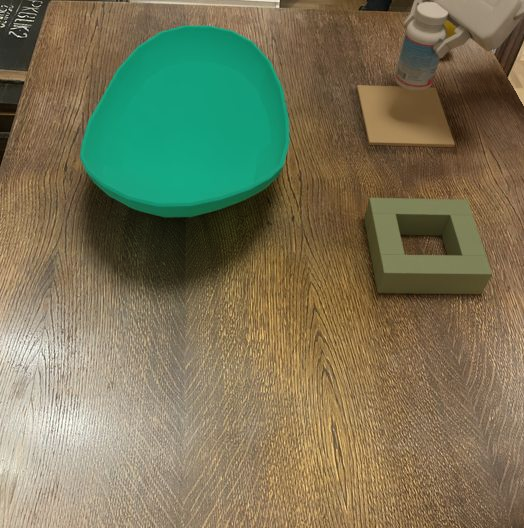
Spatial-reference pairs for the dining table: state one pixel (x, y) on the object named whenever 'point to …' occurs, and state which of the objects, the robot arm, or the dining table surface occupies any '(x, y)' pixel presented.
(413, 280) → the stand
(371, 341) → the dining table surface
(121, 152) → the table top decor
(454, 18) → the robot arm
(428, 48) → the pill bottle
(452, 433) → the dining table surface
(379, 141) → the mat
